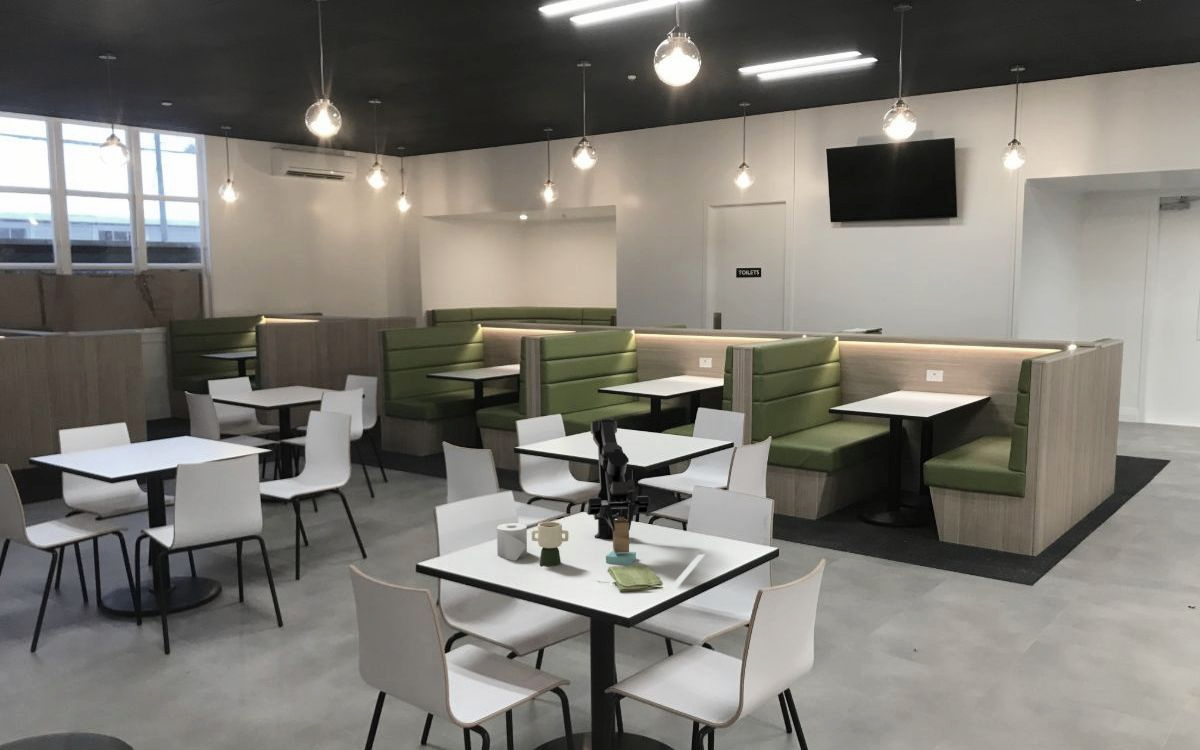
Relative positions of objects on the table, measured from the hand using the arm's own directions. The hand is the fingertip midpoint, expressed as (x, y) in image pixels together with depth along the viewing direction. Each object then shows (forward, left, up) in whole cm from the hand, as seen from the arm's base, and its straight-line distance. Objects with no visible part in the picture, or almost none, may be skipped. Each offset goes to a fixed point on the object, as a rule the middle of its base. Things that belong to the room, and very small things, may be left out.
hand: (621, 529), depth 268 cm
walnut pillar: (-1, -1, -7) cm, 7 cm away
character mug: (+8, -20, -11) cm, 24 cm away
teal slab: (-1, -1, -10) cm, 10 cm away
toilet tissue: (-1, -36, -11) cm, 38 cm away
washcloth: (+13, +8, -12) cm, 19 cm away
